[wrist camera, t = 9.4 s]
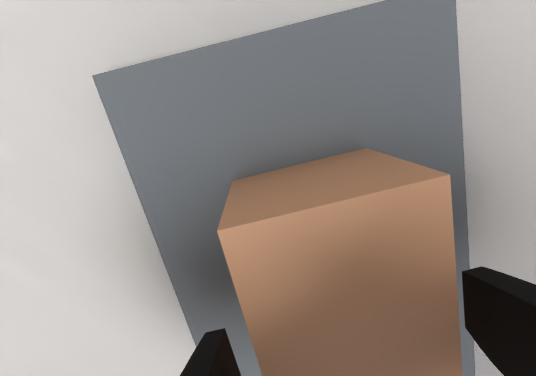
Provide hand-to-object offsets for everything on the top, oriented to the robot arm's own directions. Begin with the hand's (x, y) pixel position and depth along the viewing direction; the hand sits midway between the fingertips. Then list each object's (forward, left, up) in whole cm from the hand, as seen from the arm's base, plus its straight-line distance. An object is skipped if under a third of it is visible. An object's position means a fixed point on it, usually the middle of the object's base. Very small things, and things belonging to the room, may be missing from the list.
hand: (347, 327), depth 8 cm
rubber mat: (0, 0, -4) cm, 4 cm away
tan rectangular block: (0, 0, -3) cm, 3 cm away
